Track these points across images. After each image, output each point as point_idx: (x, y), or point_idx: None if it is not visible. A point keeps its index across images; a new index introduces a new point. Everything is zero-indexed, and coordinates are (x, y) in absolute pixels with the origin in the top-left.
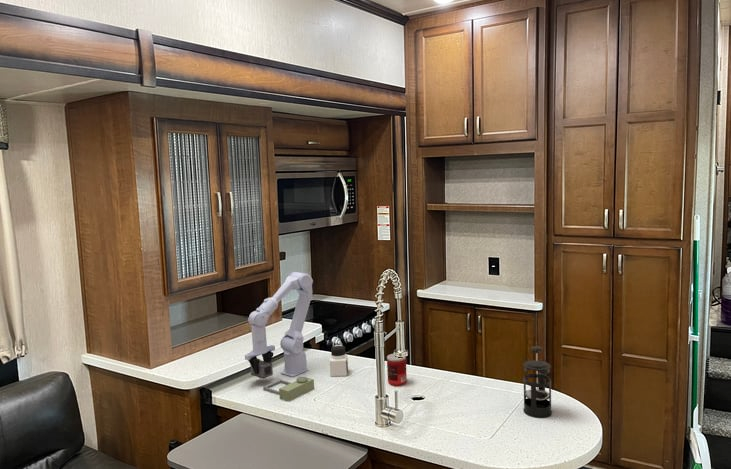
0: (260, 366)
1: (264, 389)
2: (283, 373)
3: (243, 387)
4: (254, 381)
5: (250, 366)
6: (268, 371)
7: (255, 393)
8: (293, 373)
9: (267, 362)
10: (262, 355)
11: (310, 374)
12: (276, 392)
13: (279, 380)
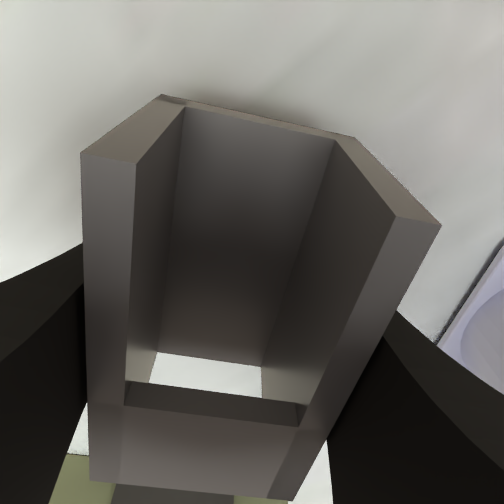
0: (89, 444)
1: None
2: (485, 280)
3: (13, 82)
4: (226, 90)
5: (112, 130)
6: (275, 339)
7: None
8: (467, 368)
9: (306, 444)
10: (462, 459)
11: None
12: None
13: None
